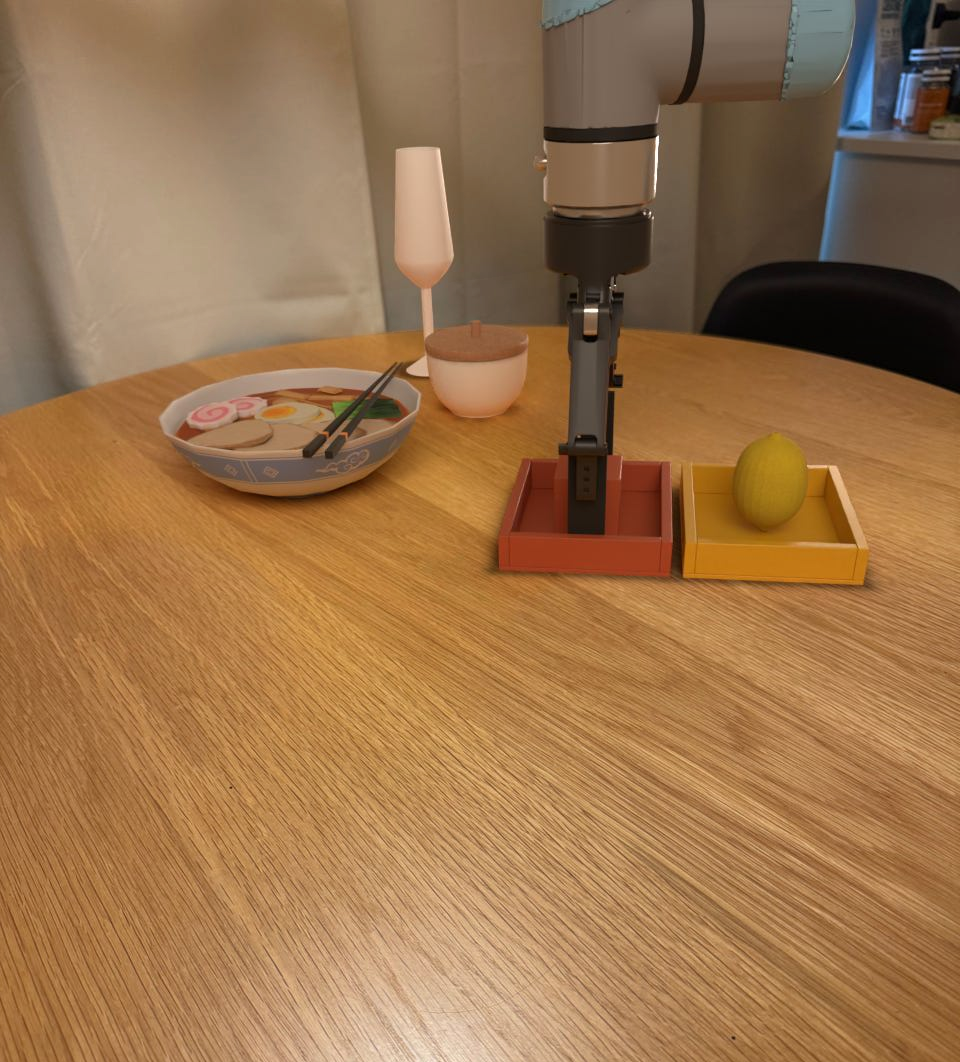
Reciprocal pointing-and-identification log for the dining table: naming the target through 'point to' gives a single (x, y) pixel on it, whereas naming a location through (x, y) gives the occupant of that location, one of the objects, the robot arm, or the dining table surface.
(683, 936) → the dining table surface
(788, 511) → the lemon
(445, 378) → the lidded sugar bowl
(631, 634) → the dining table surface
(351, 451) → the ramen bowl
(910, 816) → the dining table surface
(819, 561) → the yellow tray
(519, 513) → the terracotta tray
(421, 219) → the champagne flute
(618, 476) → the block
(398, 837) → the dining table surface
